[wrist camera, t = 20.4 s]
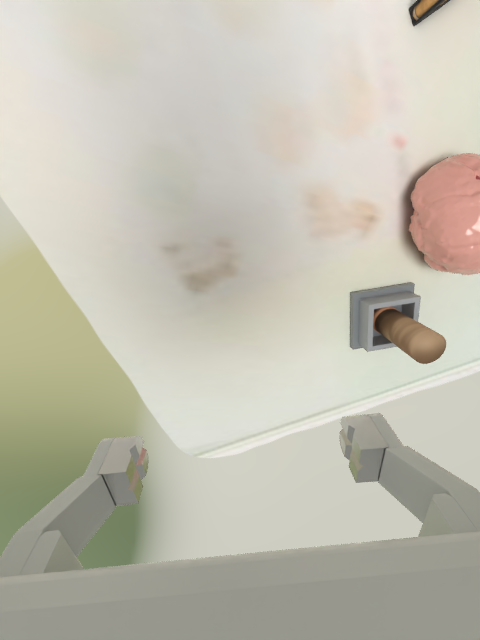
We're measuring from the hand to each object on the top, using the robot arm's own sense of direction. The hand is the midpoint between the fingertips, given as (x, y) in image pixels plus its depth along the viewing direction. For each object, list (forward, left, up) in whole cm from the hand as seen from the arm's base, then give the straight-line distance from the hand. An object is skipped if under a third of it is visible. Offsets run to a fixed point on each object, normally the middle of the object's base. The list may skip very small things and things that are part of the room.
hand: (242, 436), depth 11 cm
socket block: (+12, +25, -33) cm, 43 cm away
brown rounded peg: (+12, +25, -32) cm, 42 cm away
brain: (-3, +33, -34) cm, 47 cm away
